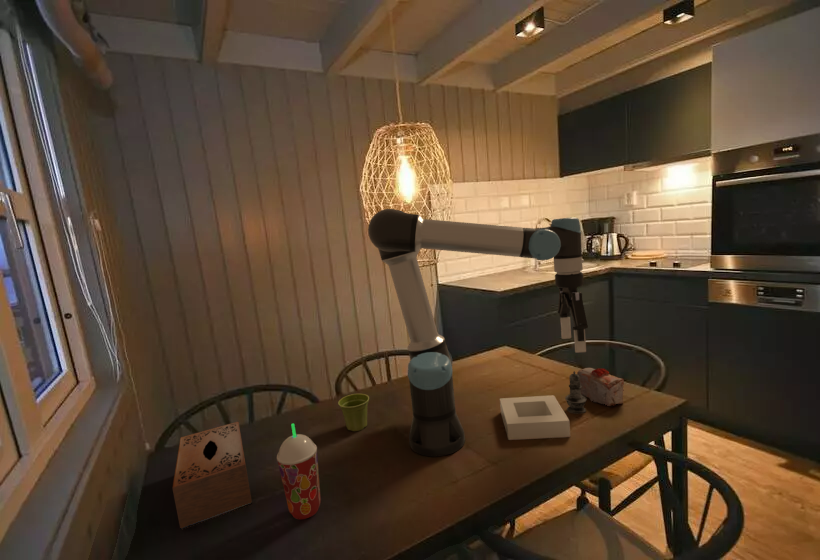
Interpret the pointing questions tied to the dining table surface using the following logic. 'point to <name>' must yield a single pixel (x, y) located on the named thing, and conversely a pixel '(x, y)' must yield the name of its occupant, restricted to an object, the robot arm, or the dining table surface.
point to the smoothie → (300, 475)
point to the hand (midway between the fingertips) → (573, 344)
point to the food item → (601, 386)
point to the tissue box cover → (210, 474)
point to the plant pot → (355, 411)
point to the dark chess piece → (575, 396)
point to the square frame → (534, 418)
